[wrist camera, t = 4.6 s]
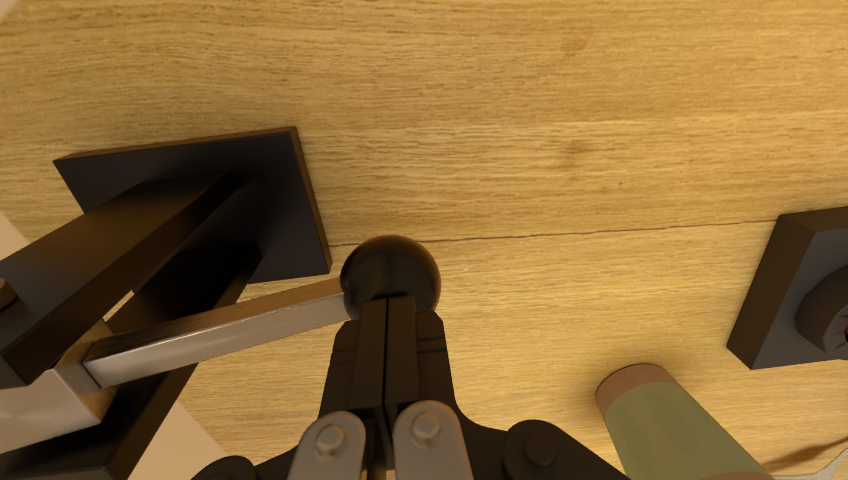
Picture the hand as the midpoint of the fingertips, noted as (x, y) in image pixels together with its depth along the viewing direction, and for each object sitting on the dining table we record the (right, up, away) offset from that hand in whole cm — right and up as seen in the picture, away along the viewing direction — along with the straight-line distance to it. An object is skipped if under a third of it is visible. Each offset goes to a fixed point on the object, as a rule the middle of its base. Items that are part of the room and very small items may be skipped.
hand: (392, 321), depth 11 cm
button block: (+27, 0, +14) cm, 31 cm away
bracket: (-10, +4, +9) cm, 14 cm away
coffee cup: (+17, -9, +18) cm, 27 cm away
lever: (-5, +1, +2) cm, 6 cm away
